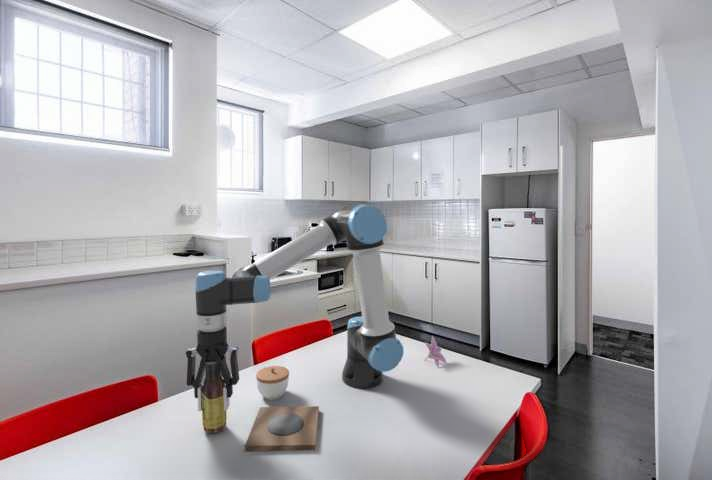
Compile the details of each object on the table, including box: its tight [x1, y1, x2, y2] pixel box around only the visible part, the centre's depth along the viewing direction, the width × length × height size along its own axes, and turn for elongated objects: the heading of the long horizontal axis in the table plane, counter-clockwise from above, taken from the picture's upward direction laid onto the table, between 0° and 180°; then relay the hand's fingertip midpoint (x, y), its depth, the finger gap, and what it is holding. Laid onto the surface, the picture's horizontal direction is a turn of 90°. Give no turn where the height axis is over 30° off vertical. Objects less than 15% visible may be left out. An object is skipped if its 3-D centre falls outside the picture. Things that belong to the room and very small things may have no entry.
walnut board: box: [244, 405, 320, 452], centre depth 100 cm, size 18×18×2 cm
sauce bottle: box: [201, 361, 227, 434], centre depth 98 cm, size 7×6×20 cm
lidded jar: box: [255, 365, 290, 401], centre depth 118 cm, size 11×11×9 cm
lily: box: [424, 335, 448, 368], centre depth 146 cm, size 12×12×10 cm
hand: (214, 408), depth 98 cm, fingers closed on sauce bottle, 6 cm apart
